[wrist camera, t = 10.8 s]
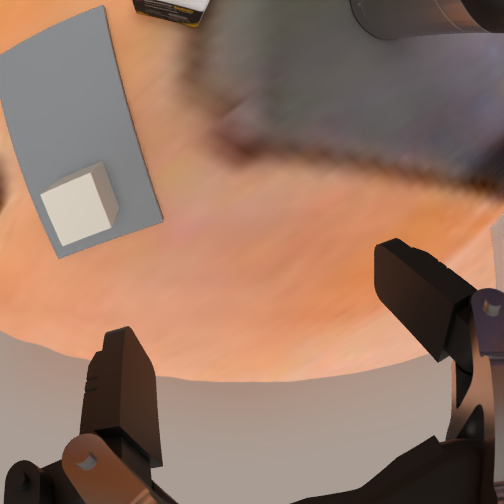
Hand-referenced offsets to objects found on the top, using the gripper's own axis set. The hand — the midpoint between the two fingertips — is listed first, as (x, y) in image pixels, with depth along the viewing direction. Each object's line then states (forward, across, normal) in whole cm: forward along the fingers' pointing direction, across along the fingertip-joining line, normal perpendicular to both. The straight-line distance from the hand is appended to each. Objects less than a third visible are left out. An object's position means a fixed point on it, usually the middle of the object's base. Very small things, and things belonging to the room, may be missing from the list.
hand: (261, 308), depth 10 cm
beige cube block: (+27, +12, 0) cm, 29 cm away
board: (+28, +12, -7) cm, 31 cm away
